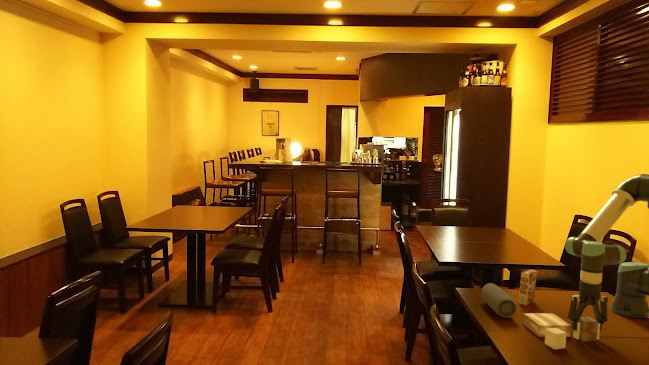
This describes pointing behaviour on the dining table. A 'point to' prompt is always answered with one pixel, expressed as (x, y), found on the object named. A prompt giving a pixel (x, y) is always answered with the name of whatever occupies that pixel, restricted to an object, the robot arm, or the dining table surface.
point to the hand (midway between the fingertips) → (585, 338)
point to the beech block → (545, 323)
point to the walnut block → (587, 329)
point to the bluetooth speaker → (498, 300)
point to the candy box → (527, 287)
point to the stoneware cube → (555, 338)
